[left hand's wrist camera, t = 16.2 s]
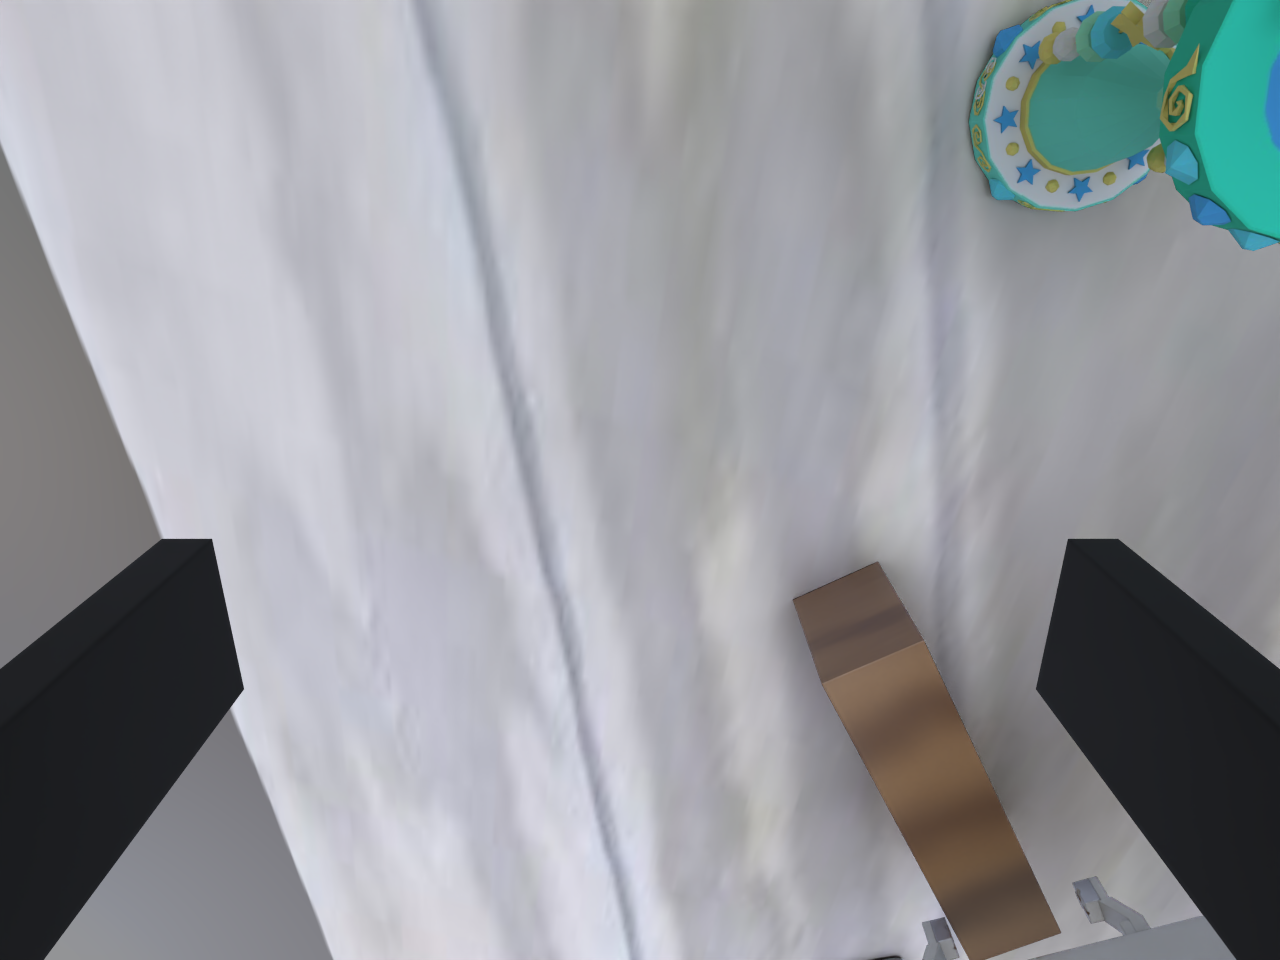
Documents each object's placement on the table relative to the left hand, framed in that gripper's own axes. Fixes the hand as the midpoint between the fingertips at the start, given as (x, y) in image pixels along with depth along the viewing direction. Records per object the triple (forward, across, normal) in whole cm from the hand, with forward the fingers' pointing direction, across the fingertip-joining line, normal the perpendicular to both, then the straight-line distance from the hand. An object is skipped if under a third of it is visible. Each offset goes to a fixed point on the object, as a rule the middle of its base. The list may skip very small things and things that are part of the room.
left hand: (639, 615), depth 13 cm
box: (+36, +18, -30) cm, 50 cm away
